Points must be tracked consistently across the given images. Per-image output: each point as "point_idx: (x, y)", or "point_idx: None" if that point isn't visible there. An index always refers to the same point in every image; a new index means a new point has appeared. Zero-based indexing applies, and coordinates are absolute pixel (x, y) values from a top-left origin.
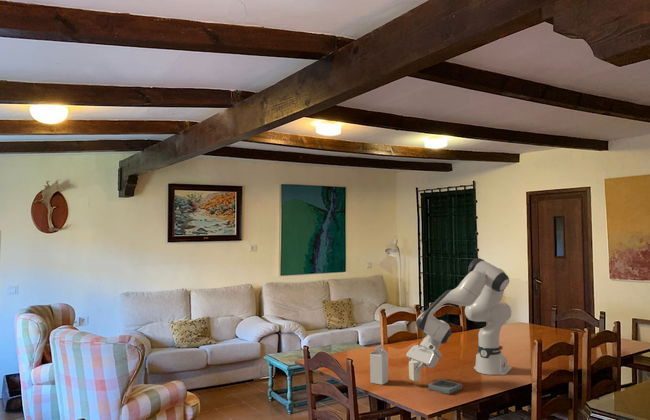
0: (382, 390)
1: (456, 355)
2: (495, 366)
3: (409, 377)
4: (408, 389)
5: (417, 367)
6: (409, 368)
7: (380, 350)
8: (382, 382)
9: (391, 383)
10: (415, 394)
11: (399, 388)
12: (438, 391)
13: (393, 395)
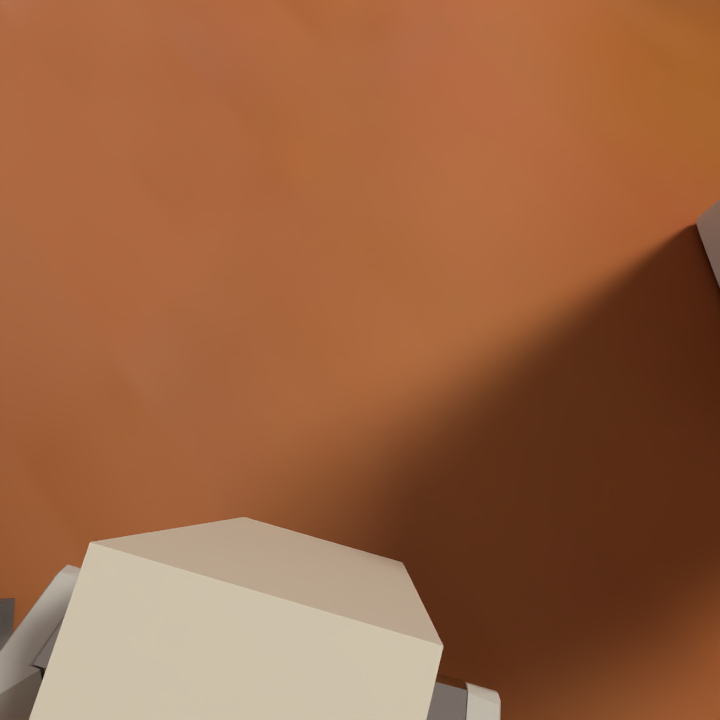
0: (509, 49)
1: None
2: None
3: (389, 562)
4: (261, 356)
5: (45, 637)
6: (388, 588)
7: None
8: (715, 206)
9: (666, 398)
10: (42, 247)
11: (396, 292)
12: None
13: (255, 4)
